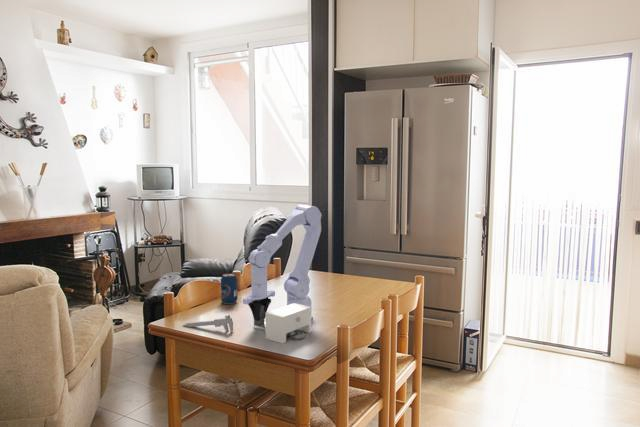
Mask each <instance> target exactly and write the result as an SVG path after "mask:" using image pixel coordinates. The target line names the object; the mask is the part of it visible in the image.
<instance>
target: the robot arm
mask: <svg viewBox="0 0 640 427" xmlns="http://www.w3.org/2000/svg"><path fill="white" fill-rule="evenodd" d="M322 216H323V215H322V213H321V210H319V208H318V207H317V206H315V205H308V204H307V205H306V204H301V203H300V204H298V205H297V206H296V207H295V208H294V209H293V210H292V211H291V213H290V215H289V216H288V217H287V219H286V220H285V221H284V223H282V225H281V226H280V227H279V229H277V231H276V232H275V233H271V234H269V235H266V236H265V240H264V241H263V242H262V243H261V244H260V245H258V246H257V247H256V248H257V249H253V250H252V251H251V252H250V254H249V256H248V257H247V259H248V262H249V264H250V266H251V268H250V269H251V271H250V273H251V274H250V276H251V279H250V281H251V282H250V284H251V285H250V286H251V287H250V288H251V289H250V290H251V291H250V292H251V293H250V294H249V295H248V296H245V297H243V298H242V304H243V305H248V306H249V309H250V311H251V313H252V318H253V321H254V320H256V321H259V319H260V309H261V305H262V304H263V305H264V320H266V312H268V309H269V306H270V304H271V303H272V299H271V297H275V296H276V291H275V290H271V289H270V290H268V265H269V264H270V262H271V258H272V256H273V255H274V254H275V253H276V252H277V251H278V249H279V248H281V247H282V245H283V240H284V238H286V237H287V235H289V234H290V233H291V232H292V231H293V230H294V229H295V228H296V227H298V226H300V225H302V227H303V228H304V229H305V234H304V238H303V241H302V244H301V248H300V251H299V253H298V257H297V260H296V262H295V266H294V268H293V270H292V271H291V272H289V274H288V278H286V280H284V283H283V289H284V291H285V292H286V306H287V305H290V304H293V303H297V304H301V305H305V306H309V307H312V299H311V297H310V296H309V292H310V282H311V280H310V277H309V271H310V269H311V265H312V263H313V262H312V261H313V258H314V255H315V252H316V248H317V245H318V243H319V239H320V236H321V232H322V222H321V219H322ZM313 318H314V316H312V315H311V319H313Z"/></svg>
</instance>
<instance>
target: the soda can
mask: <svg viewBox="0 0 640 427" xmlns="http://www.w3.org/2000/svg"><path fill="white" fill-rule="evenodd" d="M237 300H238V278H237V275H236V273H229V272H228V273H222V275H221V279H220V301H221V302H222V303H223V304H225V305H232V304H236V302H237Z"/></svg>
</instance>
